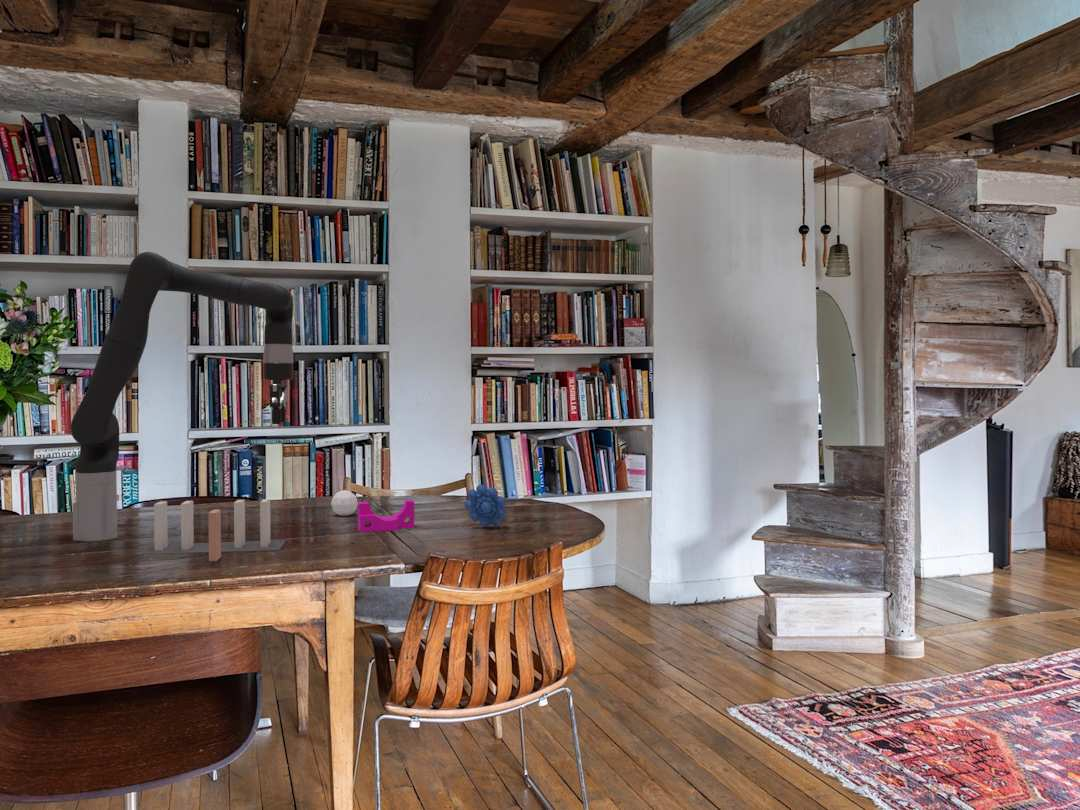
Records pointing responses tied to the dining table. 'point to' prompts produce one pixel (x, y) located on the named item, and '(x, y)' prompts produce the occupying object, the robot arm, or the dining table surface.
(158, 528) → the domino
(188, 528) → the domino
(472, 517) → the blue flower rosette
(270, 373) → the robot arm
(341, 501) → the geometric ball
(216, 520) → the domino
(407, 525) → the toy block
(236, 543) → the domino
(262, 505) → the domino
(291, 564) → the dining table surface
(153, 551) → the domino mat
